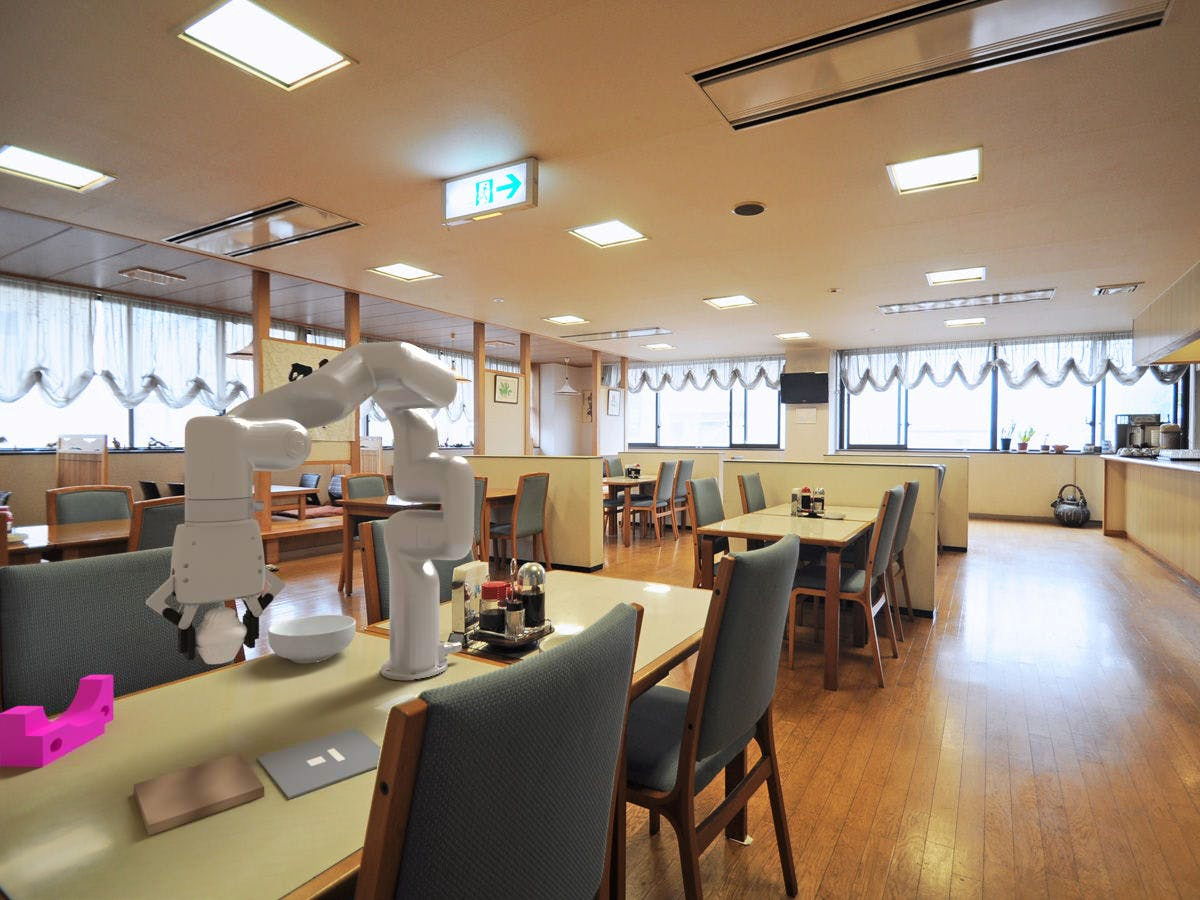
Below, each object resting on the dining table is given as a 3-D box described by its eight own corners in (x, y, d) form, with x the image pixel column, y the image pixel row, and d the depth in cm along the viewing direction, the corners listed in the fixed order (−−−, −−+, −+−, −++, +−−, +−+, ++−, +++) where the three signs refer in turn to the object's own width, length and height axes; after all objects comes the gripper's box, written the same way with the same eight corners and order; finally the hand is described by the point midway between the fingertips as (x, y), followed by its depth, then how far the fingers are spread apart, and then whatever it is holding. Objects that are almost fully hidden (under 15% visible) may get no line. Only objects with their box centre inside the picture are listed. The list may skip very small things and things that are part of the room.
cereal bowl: (372, 649, 138) (372, 617, 138) (315, 675, 122) (315, 639, 122) (311, 641, 144) (311, 610, 144) (248, 665, 128) (248, 630, 128)
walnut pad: (239, 761, 89) (239, 752, 89) (264, 795, 80) (264, 786, 80) (133, 793, 81) (133, 784, 81) (148, 835, 72) (148, 825, 72)
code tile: (355, 728, 99) (355, 726, 99) (395, 761, 89) (395, 759, 89) (257, 759, 89) (257, 756, 89) (288, 799, 79) (288, 796, 79)
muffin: (179, 666, 79) (179, 610, 79) (221, 651, 85) (221, 599, 85) (219, 670, 78) (219, 613, 78) (258, 655, 84) (258, 602, 84)
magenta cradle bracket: (43, 768, 87) (42, 714, 87) (-1, 767, 88) (-1, 713, 88) (128, 721, 102) (128, 675, 102) (91, 720, 103) (90, 674, 103)
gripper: (281, 506, 90) (281, 632, 90) (132, 514, 78) (132, 660, 78) (300, 509, 85) (300, 643, 85) (142, 519, 73) (142, 675, 73)
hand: (219, 650), depth 81 cm, fingers closed on muffin, 6 cm apart
